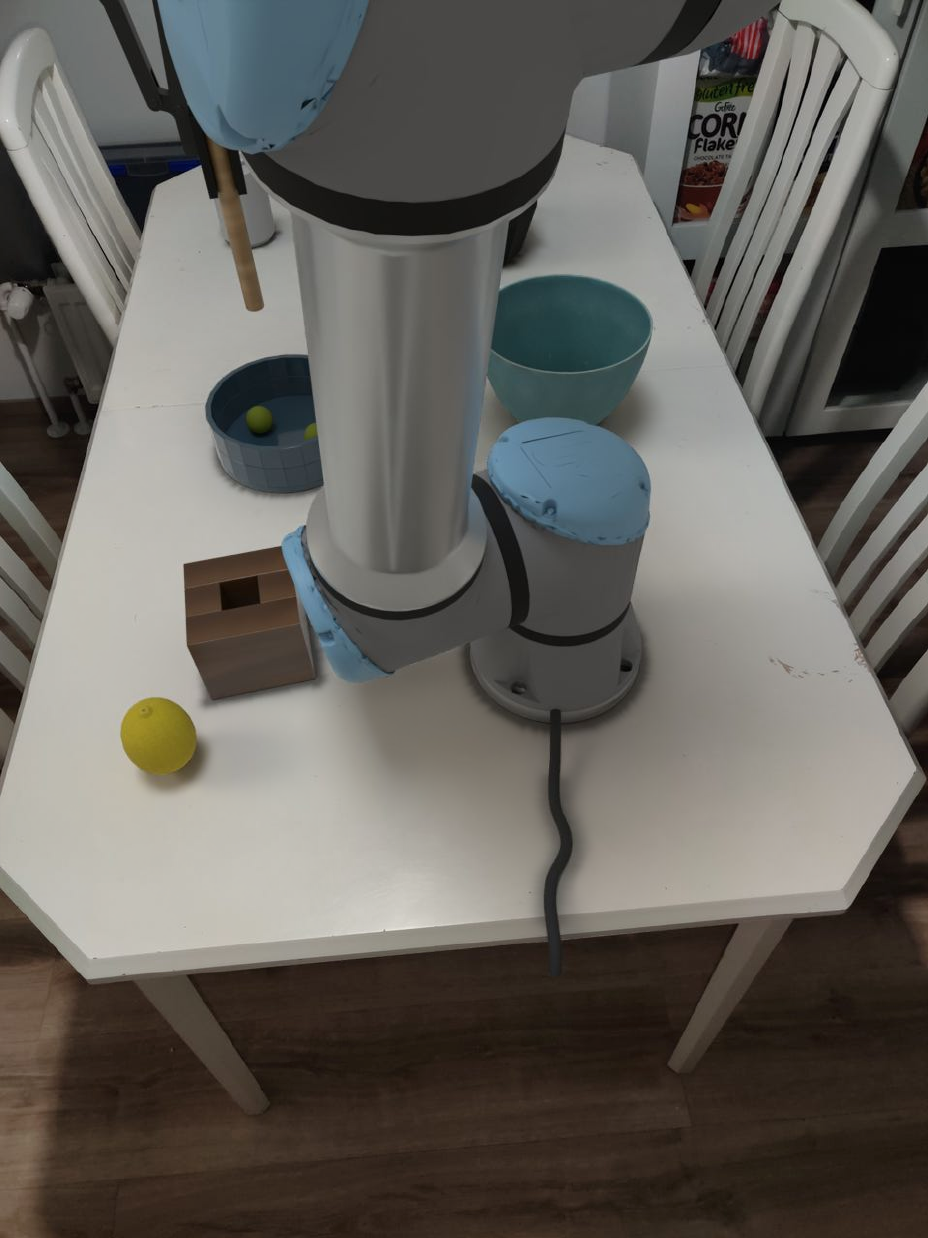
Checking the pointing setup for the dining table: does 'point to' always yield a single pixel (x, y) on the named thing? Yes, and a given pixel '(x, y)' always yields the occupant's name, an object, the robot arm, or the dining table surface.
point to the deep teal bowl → (566, 347)
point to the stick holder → (246, 623)
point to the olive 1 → (259, 419)
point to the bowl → (283, 449)
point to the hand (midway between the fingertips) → (227, 188)
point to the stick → (235, 224)
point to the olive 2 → (311, 431)
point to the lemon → (158, 735)
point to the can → (252, 211)
